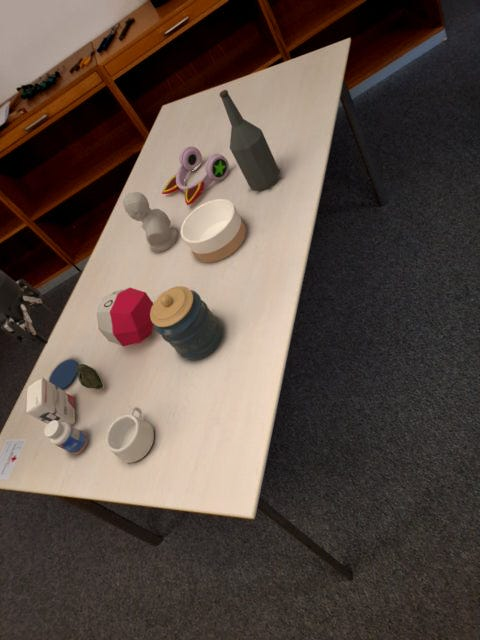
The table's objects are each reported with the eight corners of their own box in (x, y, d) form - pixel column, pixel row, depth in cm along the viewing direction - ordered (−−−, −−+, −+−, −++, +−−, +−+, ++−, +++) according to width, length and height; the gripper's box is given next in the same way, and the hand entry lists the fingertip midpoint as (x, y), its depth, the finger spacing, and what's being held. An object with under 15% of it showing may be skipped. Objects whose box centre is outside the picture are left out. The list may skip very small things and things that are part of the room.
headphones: (224, 149, 144) (178, 184, 139) (234, 176, 151) (190, 209, 146) (192, 141, 158) (149, 172, 152) (203, 165, 164) (161, 196, 159)
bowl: (237, 210, 135) (225, 189, 129) (253, 241, 124) (241, 220, 118) (189, 239, 138) (175, 219, 132) (201, 272, 126) (186, 252, 120)
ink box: (59, 405, 119) (26, 385, 111) (74, 396, 118) (42, 376, 110) (60, 432, 113) (24, 413, 105) (76, 422, 113) (41, 403, 104)
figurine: (152, 259, 140) (114, 215, 126) (152, 234, 148) (116, 190, 134) (178, 247, 138) (142, 201, 124) (176, 223, 146) (143, 176, 132)
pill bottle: (69, 458, 107) (39, 443, 100) (70, 438, 110) (42, 422, 103) (88, 449, 106) (59, 434, 99) (89, 429, 109) (61, 413, 102)
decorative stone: (75, 393, 119) (62, 385, 115) (86, 368, 123) (74, 359, 119) (105, 394, 114) (93, 385, 110) (116, 368, 118) (104, 358, 114)
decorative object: (132, 311, 105) (78, 309, 109) (148, 358, 114) (97, 354, 118) (156, 278, 117) (106, 277, 121) (169, 323, 125) (122, 321, 129)
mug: (149, 463, 96) (132, 454, 91) (114, 463, 100) (97, 454, 96) (162, 412, 102) (148, 401, 98) (129, 413, 107) (114, 403, 102)
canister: (219, 309, 114) (185, 265, 101) (228, 348, 105) (191, 304, 93) (176, 330, 116) (137, 289, 104) (181, 369, 108) (139, 330, 95)
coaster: (48, 396, 123) (47, 396, 123) (52, 368, 130) (50, 367, 129) (77, 383, 121) (76, 382, 121) (80, 355, 128) (78, 354, 127)
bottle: (270, 166, 142) (229, 77, 120) (286, 175, 135) (246, 83, 114) (245, 185, 142) (200, 99, 120) (260, 196, 135) (215, 107, 113)
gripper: (-18, 269, 94) (38, 312, 106) (-35, 318, 85) (29, 360, 96) (10, 254, 93) (63, 300, 104) (-4, 303, 83) (57, 347, 95)
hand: (47, 329), depth 100 cm, fingers open, 8 cm apart
